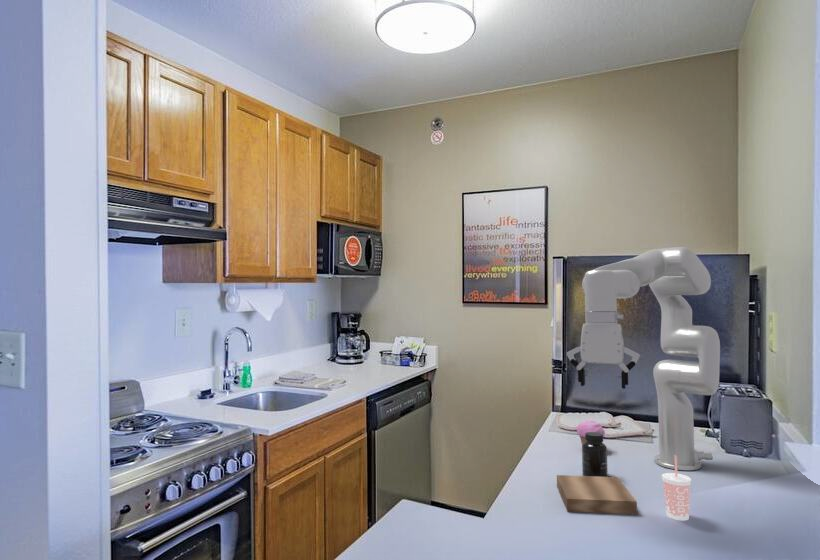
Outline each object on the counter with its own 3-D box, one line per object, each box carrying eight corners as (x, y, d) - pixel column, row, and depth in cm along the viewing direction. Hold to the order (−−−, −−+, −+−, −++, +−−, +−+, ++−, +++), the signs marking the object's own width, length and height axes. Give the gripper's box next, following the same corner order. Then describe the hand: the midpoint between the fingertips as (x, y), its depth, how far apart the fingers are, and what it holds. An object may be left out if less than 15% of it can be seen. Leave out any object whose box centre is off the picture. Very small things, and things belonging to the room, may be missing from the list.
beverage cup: (664, 519, 114) (662, 458, 114) (661, 509, 119) (659, 450, 120) (694, 523, 111) (692, 461, 112) (690, 512, 117) (688, 453, 118)
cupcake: (609, 454, 161) (608, 423, 161) (582, 455, 161) (581, 424, 161) (599, 446, 169) (598, 417, 170) (573, 447, 170) (572, 417, 170)
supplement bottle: (610, 481, 138) (608, 437, 138) (584, 479, 139) (583, 436, 140) (605, 472, 145) (604, 431, 145) (580, 471, 146) (579, 430, 146)
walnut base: (618, 488, 132) (618, 477, 133) (637, 514, 117) (636, 501, 117) (556, 486, 135) (556, 475, 135) (567, 511, 119) (566, 498, 119)
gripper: (639, 318, 125) (641, 386, 124) (568, 317, 132) (569, 382, 132) (638, 319, 118) (640, 391, 117) (563, 319, 126) (565, 386, 125)
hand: (603, 386), depth 125 cm, fingers open, 9 cm apart
